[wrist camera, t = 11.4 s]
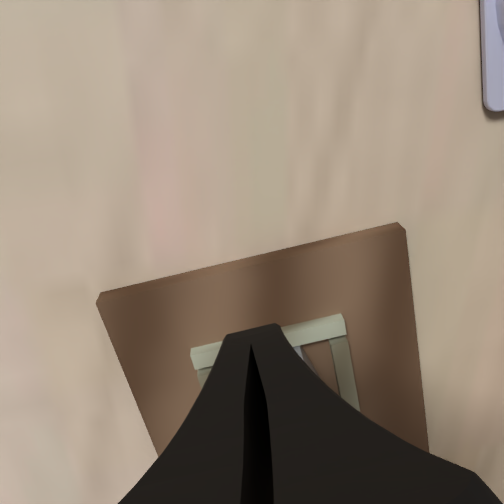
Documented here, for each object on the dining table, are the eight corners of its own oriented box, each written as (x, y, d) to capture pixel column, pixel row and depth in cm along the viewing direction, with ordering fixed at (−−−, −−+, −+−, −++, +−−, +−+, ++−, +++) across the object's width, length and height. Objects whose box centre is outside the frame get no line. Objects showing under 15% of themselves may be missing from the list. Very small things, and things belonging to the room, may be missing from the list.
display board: (397, 222, 22) (410, 234, 20) (422, 448, 27) (434, 470, 26) (100, 292, 22) (92, 309, 21) (184, 502, 28) (182, 527, 26)
